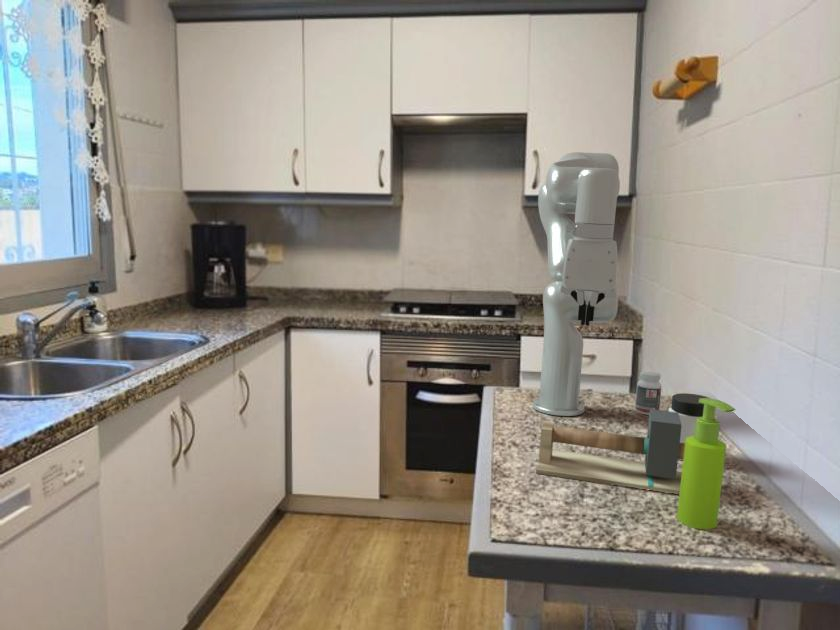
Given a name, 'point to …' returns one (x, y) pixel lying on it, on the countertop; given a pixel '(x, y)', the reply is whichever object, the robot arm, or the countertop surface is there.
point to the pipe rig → (600, 459)
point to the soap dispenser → (703, 470)
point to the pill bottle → (648, 392)
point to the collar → (663, 444)
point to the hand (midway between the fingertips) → (585, 324)
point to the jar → (687, 412)
